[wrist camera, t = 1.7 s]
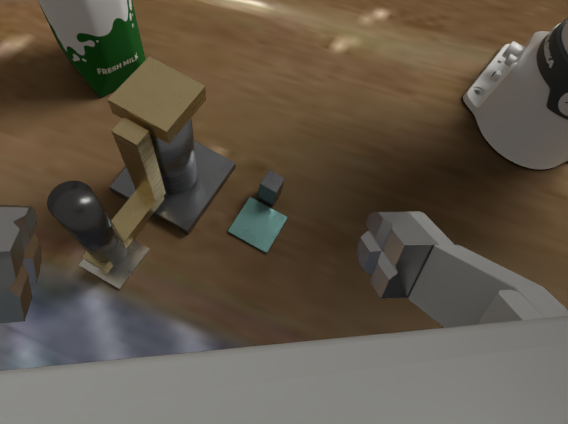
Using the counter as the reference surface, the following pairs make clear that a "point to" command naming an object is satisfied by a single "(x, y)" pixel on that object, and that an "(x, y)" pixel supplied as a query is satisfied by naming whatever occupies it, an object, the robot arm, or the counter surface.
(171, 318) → the counter surface
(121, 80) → the milk carton
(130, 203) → the lever
